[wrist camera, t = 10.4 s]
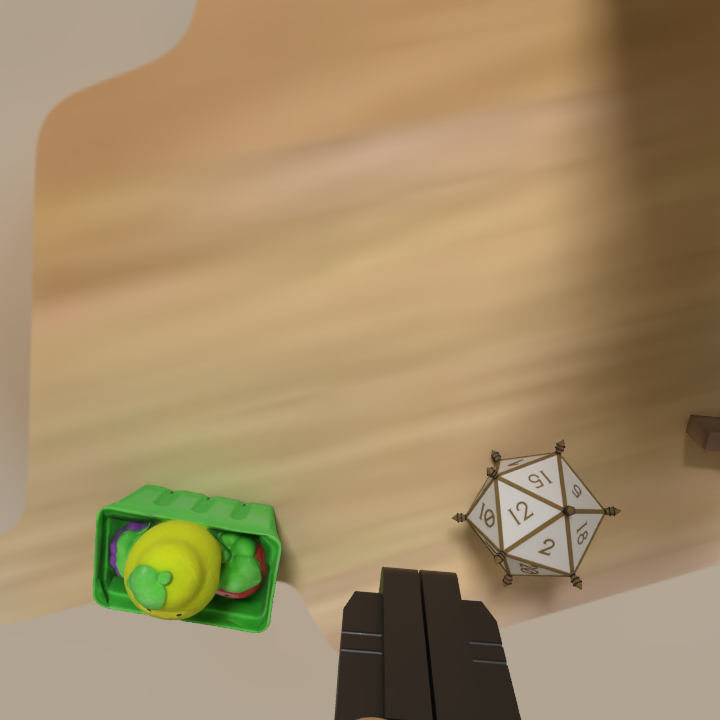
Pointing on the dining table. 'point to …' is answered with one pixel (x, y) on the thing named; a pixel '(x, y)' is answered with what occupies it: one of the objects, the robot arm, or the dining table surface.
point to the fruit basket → (187, 558)
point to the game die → (536, 516)
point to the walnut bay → (705, 431)
